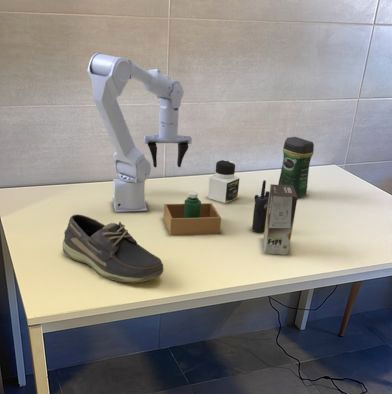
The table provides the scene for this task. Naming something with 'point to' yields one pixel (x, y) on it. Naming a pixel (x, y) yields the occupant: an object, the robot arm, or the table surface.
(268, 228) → the coffee box
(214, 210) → the box
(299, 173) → the coffee jar
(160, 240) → the table surface
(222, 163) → the medicine bottle
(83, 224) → the boat shoe
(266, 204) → the two-way radio
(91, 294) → the table surface
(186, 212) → the bottle
